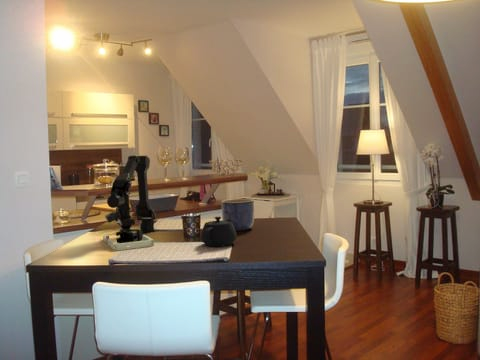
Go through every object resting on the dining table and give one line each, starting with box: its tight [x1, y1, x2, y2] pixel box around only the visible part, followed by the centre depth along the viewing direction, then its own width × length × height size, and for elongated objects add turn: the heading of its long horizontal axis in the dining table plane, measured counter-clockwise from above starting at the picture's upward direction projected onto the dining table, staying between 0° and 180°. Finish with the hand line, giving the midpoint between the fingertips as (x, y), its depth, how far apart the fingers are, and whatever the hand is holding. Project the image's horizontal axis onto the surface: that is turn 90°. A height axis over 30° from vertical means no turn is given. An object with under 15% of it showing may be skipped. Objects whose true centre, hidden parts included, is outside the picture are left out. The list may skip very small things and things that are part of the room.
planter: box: [221, 198, 255, 232], centre depth 244 cm, size 17×17×15 cm
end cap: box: [115, 228, 144, 244], centre depth 217 cm, size 10×7×7 cm
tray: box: [107, 234, 155, 252], centre depth 215 cm, size 17×16×3 cm
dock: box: [102, 235, 110, 244], centre depth 230 cm, size 16×10×3 cm, turn 116°
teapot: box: [200, 216, 238, 248], centre depth 209 cm, size 25×16×12 cm, turn 156°
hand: (125, 238), depth 224 cm, fingers closed
